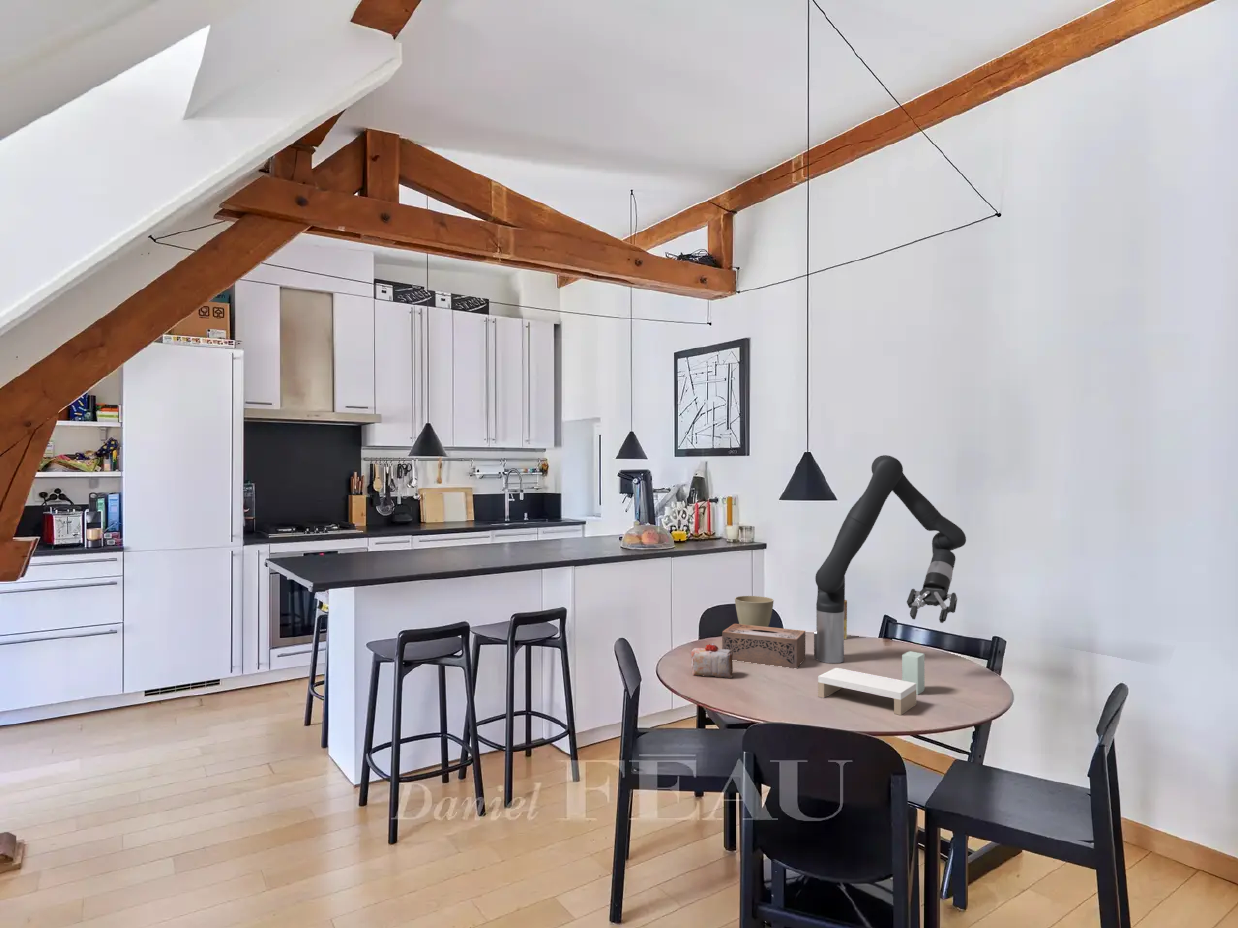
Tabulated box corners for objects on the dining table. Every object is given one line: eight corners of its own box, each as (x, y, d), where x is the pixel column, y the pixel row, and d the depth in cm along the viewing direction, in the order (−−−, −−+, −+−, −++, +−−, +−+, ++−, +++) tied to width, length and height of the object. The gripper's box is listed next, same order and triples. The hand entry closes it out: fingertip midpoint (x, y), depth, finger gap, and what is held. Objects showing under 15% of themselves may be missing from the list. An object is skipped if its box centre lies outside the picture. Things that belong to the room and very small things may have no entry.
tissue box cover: (722, 660, 252) (722, 631, 252) (734, 650, 265) (734, 623, 265) (796, 669, 241) (796, 639, 241) (805, 659, 254) (805, 630, 254)
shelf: (818, 696, 212) (818, 675, 212) (835, 687, 221) (836, 667, 221) (900, 715, 196) (900, 693, 196) (916, 704, 205) (916, 683, 205)
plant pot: (765, 646, 270) (765, 603, 270) (728, 641, 279) (728, 599, 279) (779, 638, 283) (779, 597, 283) (744, 633, 291) (744, 594, 291)
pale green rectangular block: (902, 691, 216) (902, 654, 216) (909, 687, 221) (909, 651, 221) (917, 694, 213) (917, 657, 213) (924, 690, 218) (924, 653, 218)
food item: (688, 676, 232) (688, 645, 232) (692, 669, 240) (693, 640, 240) (731, 680, 228) (731, 648, 228) (734, 673, 236) (734, 642, 236)
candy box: (839, 636, 286) (839, 598, 286) (847, 639, 282) (847, 599, 282) (822, 639, 282) (822, 599, 282) (830, 641, 278) (830, 601, 278)
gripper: (912, 569, 237) (900, 609, 229) (958, 573, 228) (947, 615, 219) (918, 583, 241) (907, 623, 232) (964, 587, 232) (953, 629, 223)
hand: (926, 619), depth 226 cm, fingers open, 8 cm apart
